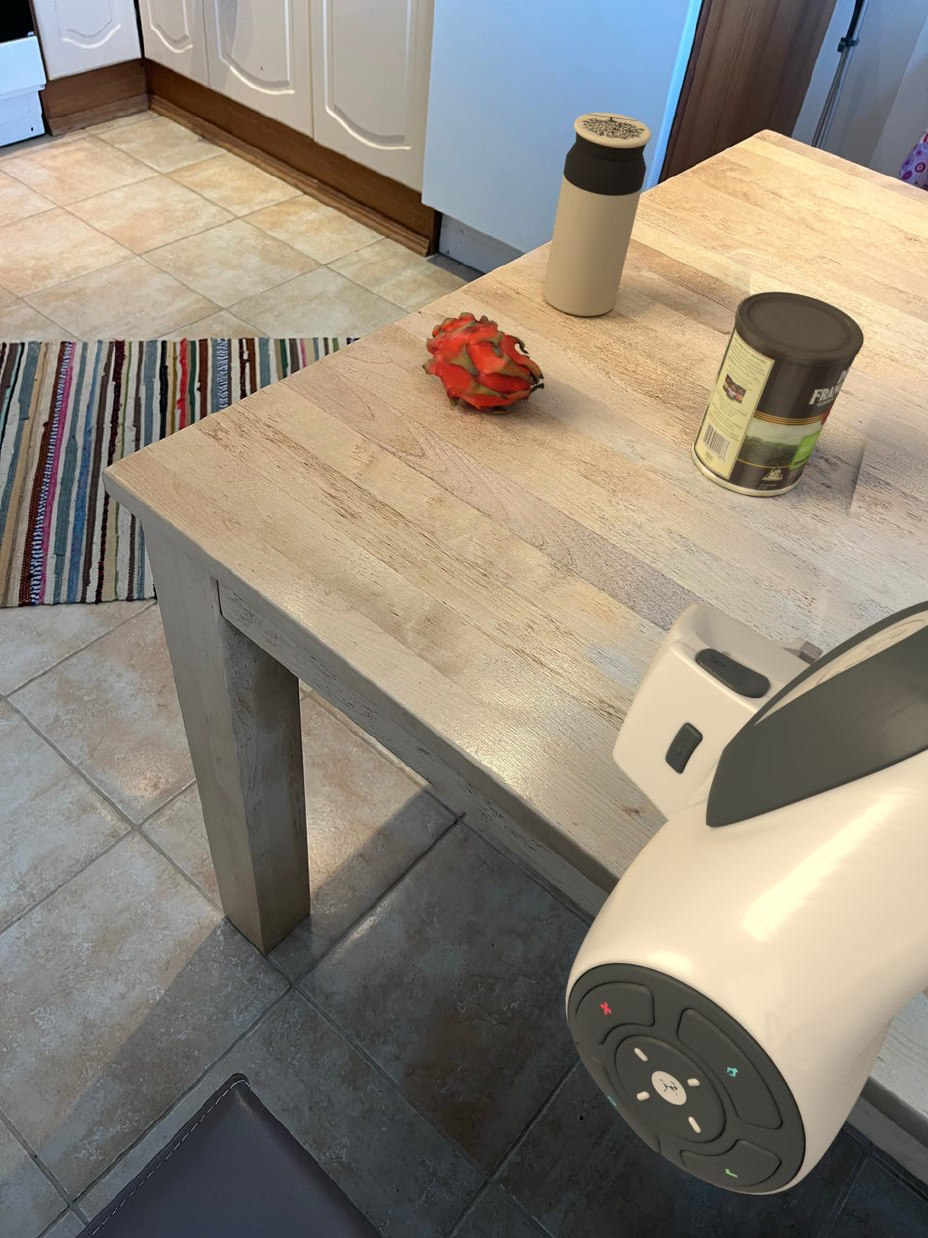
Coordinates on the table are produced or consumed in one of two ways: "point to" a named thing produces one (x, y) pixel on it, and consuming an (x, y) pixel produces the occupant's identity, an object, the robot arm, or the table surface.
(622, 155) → the travel mug
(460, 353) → the dragon fruit
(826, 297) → the table surface
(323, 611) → the table surface
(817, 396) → the coffee can
